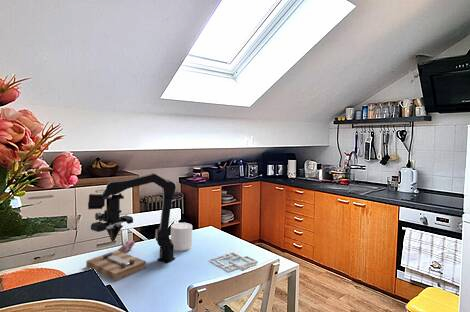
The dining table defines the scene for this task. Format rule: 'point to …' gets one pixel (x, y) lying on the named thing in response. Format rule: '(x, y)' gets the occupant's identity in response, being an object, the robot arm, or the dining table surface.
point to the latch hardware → (121, 263)
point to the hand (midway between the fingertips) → (112, 241)
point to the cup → (181, 236)
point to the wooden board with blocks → (116, 266)
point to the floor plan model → (229, 255)
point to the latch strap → (118, 260)
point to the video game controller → (127, 246)
